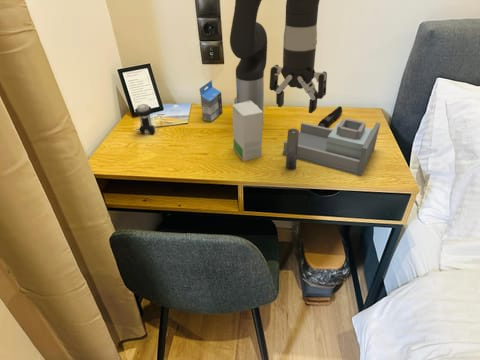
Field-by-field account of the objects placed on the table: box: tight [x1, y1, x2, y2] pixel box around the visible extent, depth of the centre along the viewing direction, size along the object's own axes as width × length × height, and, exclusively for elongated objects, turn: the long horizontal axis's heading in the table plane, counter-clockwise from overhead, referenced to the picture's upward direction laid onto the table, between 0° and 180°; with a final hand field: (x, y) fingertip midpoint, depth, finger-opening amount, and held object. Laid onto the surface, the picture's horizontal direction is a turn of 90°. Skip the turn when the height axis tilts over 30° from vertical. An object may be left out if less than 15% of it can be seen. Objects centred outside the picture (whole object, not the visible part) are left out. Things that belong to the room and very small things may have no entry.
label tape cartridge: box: [199, 80, 223, 123], centre depth 125 cm, size 9×4×12 cm, turn 155°
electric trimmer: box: [317, 105, 343, 128], centre depth 122 cm, size 4×16×3 cm, turn 143°
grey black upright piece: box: [134, 104, 156, 136], centre depth 117 cm, size 7×5×10 cm
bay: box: [281, 122, 381, 177], centre depth 104 cm, size 24×16×9 cm, turn 60°
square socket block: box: [326, 118, 373, 160], centre depth 100 cm, size 10×10×10 cm
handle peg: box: [285, 128, 300, 171], centre depth 97 cm, size 3×3×12 cm
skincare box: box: [232, 101, 264, 162], centre depth 103 cm, size 8×7×16 cm
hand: (295, 109), depth 89 cm, fingers open, 8 cm apart
